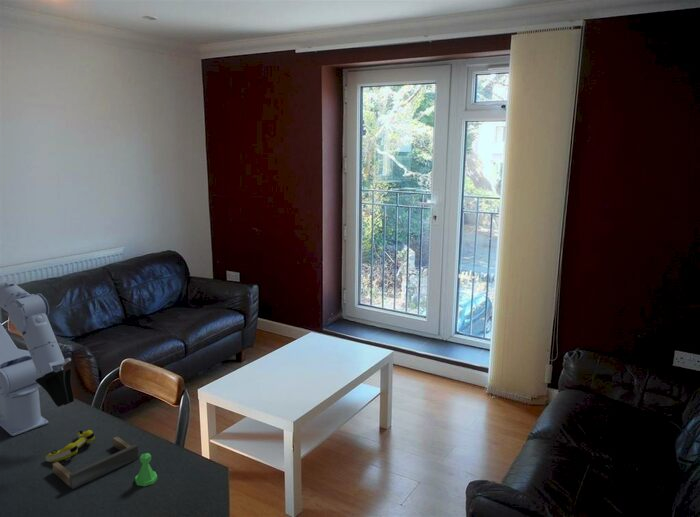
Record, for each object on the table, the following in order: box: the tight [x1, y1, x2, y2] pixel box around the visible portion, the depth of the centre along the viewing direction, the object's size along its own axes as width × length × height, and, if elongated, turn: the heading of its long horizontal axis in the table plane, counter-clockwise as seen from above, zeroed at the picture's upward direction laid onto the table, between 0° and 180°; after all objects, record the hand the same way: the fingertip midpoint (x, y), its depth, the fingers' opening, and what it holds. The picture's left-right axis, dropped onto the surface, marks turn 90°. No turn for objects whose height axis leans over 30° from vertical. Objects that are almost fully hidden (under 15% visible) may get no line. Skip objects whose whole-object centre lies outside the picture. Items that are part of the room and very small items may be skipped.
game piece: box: [134, 452, 158, 487], centre depth 107 cm, size 4×4×6 cm
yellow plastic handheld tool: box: [44, 429, 95, 463], centre depth 116 cm, size 10×6×4 cm, turn 168°
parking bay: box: [52, 436, 139, 490], centre depth 111 cm, size 8×14×3 cm, turn 142°
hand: (66, 404), depth 116 cm, fingers open, 7 cm apart
